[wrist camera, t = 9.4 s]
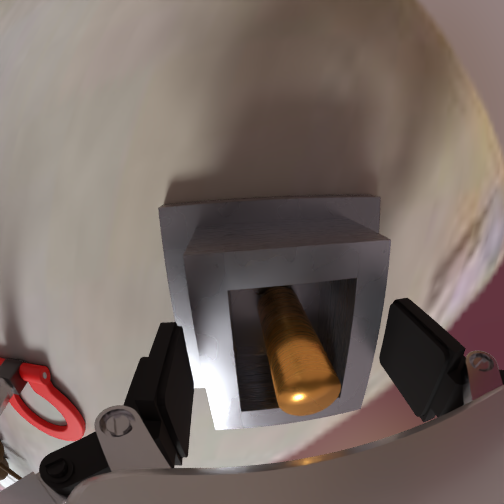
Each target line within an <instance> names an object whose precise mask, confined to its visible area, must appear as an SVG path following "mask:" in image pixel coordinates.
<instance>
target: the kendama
mask: <svg viewBox="0 0 504 504" xmlns="http://www.w3.org/2000/svg"><path fill="white" fill-rule="evenodd" d="M8 473H9V474H10V475H12V476H13V477H14V478H16V479H18V480H20V479H22V477H20V476H19V475H18V474H16V473H15V472H14V471H12V470H11V469H10V468H9V465H8V462H7V460H6V459H5V457H4V446H3V444H2V442H1V440H0V480H3V479H5V478H6V476H7V475H8Z"/></svg>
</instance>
